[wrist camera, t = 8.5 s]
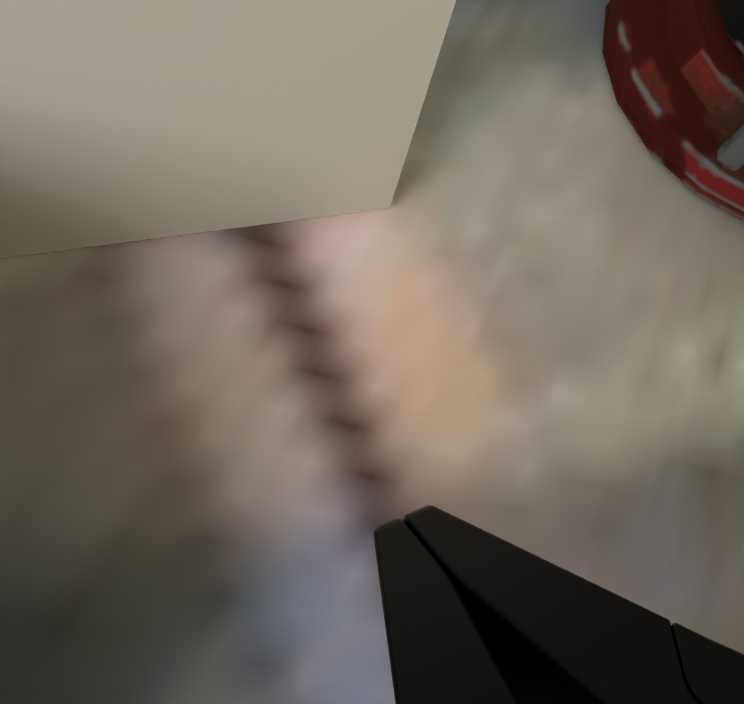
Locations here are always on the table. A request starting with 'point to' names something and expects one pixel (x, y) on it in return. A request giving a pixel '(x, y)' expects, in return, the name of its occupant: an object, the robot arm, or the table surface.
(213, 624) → the table surface
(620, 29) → the hourglass
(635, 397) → the table surface
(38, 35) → the side door
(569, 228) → the table surface
